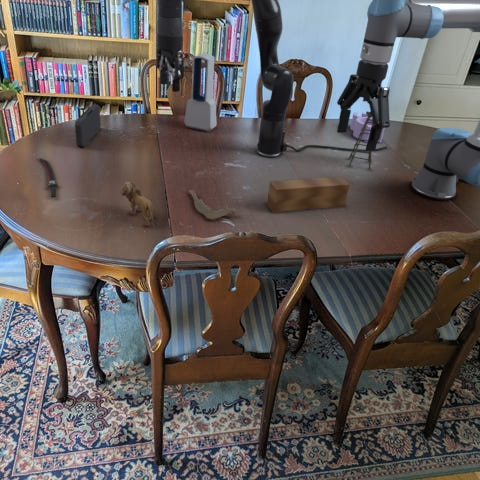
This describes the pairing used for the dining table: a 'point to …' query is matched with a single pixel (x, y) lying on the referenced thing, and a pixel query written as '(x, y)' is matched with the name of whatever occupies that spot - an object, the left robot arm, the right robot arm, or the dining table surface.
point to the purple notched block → (358, 125)
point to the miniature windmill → (362, 139)
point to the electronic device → (200, 107)
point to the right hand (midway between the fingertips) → (355, 141)
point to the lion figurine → (137, 201)
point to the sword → (52, 181)
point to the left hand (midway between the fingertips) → (169, 87)
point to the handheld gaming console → (87, 125)
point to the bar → (307, 194)
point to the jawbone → (207, 211)
